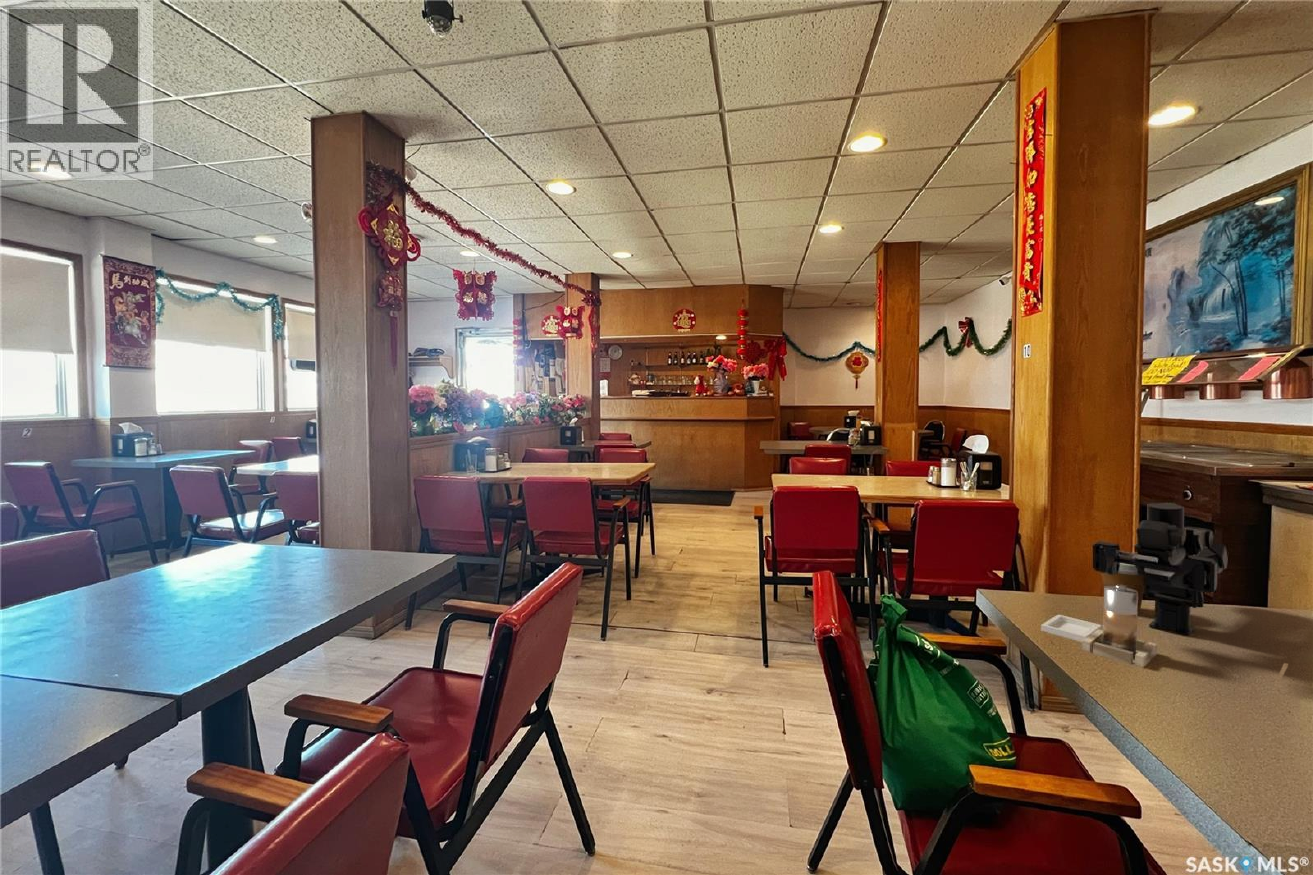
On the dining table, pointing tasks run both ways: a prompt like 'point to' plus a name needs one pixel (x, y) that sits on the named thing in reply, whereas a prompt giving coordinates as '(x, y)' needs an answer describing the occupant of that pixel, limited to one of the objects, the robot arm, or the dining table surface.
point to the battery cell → (1120, 617)
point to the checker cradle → (1120, 650)
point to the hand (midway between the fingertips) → (1137, 577)
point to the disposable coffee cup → (1126, 580)
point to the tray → (1070, 627)
